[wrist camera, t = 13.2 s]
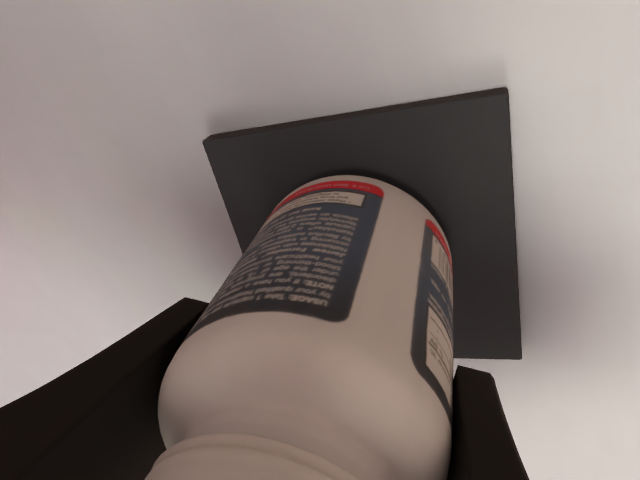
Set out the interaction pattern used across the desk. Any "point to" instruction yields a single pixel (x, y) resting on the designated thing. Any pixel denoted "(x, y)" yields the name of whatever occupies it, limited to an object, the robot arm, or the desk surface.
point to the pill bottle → (321, 348)
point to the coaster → (411, 177)
